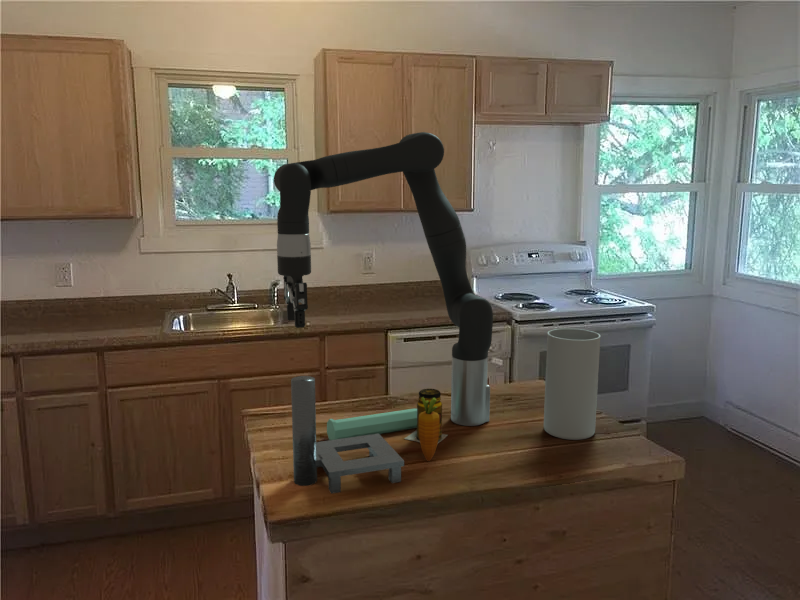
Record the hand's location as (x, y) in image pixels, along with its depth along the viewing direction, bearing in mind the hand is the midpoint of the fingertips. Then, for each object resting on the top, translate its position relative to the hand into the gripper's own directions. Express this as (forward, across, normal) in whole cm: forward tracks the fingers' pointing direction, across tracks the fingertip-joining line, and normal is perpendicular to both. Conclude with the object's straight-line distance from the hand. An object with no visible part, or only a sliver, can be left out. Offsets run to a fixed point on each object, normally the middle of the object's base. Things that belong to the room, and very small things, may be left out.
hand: (295, 323), depth 153 cm
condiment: (+30, -7, -30) cm, 43 cm away
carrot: (+30, -20, -25) cm, 43 cm away
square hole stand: (+29, -20, -5) cm, 36 cm away
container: (+30, 0, -20) cm, 36 cm away
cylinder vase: (+30, -16, -65) cm, 73 cm away
